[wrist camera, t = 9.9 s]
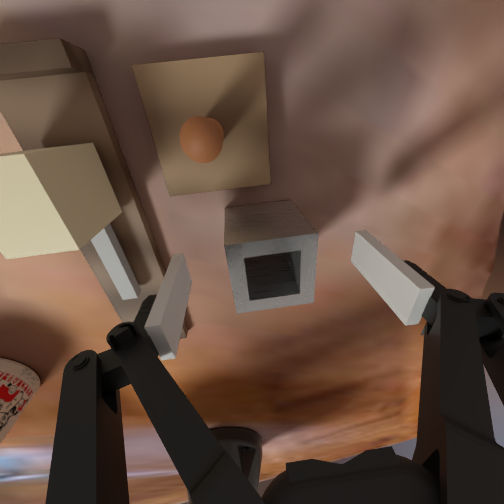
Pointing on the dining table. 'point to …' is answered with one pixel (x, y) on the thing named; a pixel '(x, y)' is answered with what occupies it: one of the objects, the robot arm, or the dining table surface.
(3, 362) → the teacup with lid
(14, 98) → the rail
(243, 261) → the grey hollow square block
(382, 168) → the dining table surface
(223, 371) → the dining table surface
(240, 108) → the square plate with peg
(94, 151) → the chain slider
